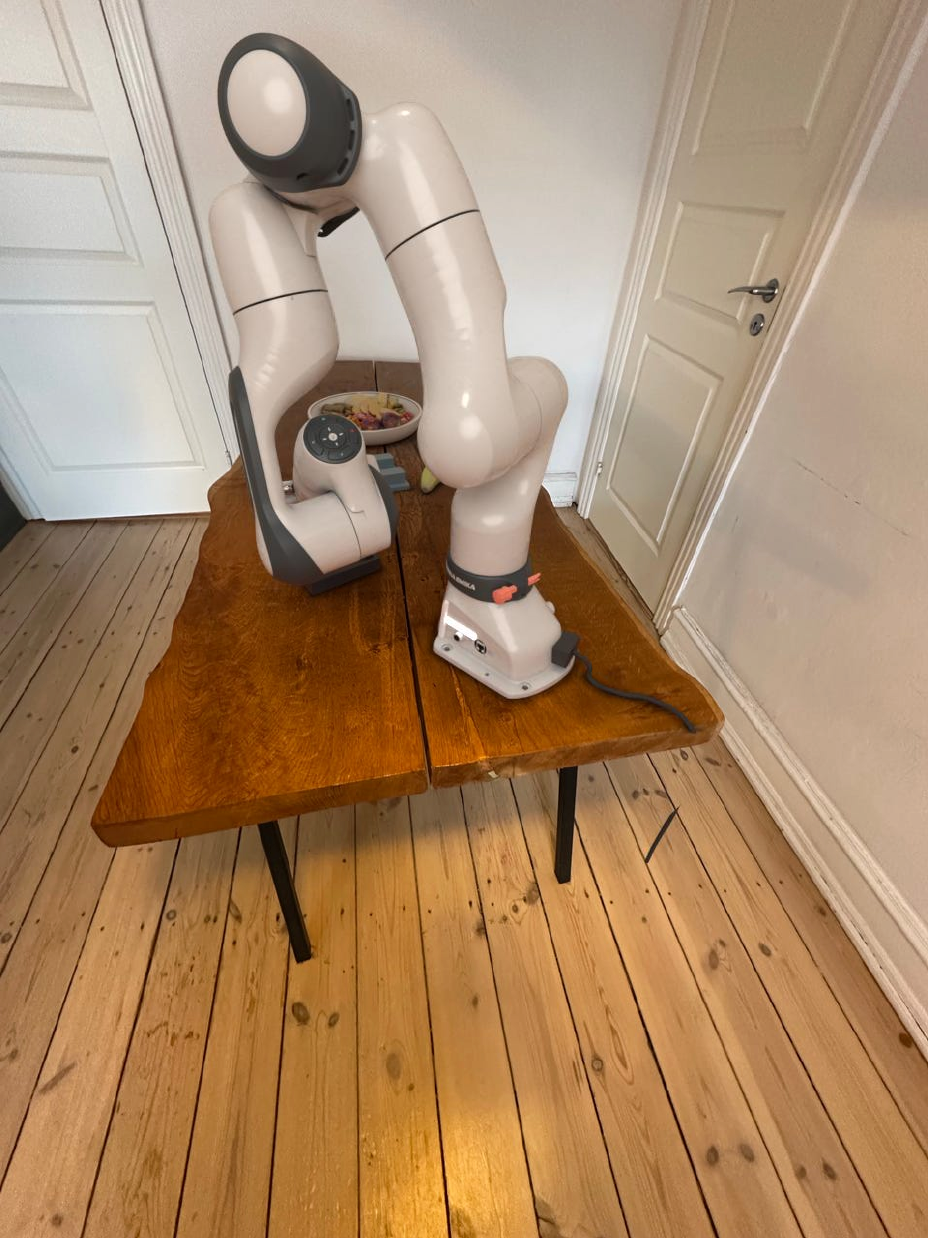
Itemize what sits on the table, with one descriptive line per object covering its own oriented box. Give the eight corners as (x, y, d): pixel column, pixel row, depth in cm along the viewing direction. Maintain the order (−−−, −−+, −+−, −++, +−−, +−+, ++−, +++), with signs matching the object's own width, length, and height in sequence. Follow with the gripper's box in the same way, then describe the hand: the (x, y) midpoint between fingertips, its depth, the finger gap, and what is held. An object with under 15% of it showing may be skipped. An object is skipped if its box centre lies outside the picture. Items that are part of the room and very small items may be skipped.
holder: (410, 489, 122) (409, 474, 120) (371, 495, 119) (369, 480, 117) (390, 463, 132) (390, 449, 130) (354, 469, 129) (352, 454, 127)
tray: (380, 569, 98) (379, 557, 97) (313, 595, 92) (311, 583, 90) (339, 533, 107) (337, 521, 106) (274, 554, 101) (272, 543, 99)
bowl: (289, 423, 149) (284, 393, 144) (380, 401, 165) (379, 374, 160) (350, 461, 132) (346, 429, 127) (444, 432, 148) (445, 403, 143)
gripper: (255, 514, 77) (259, 539, 90) (394, 492, 84) (379, 518, 97) (244, 471, 77) (249, 502, 90) (384, 453, 84) (370, 484, 97)
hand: (317, 510), depth 93 cm, fingers closed on tape, 3 cm apart
